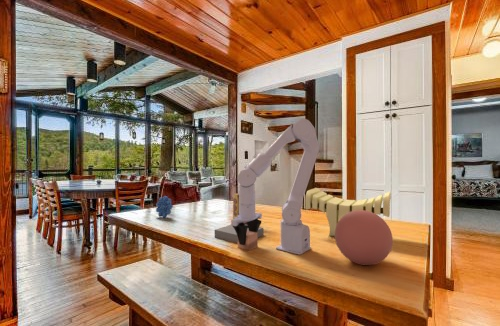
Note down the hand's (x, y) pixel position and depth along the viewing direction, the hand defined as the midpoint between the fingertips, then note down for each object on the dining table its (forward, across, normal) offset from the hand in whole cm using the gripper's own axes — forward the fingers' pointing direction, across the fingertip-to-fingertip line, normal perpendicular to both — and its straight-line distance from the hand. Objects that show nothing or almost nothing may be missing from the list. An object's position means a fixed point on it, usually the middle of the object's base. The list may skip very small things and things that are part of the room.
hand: (247, 242), depth 89 cm
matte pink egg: (+2, -12, +35) cm, 37 cm away
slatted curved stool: (+2, -36, +23) cm, 43 cm away
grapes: (+2, -10, -67) cm, 68 cm away
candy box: (+2, -22, -21) cm, 30 cm away
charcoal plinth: (+2, -8, -11) cm, 14 cm away
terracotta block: (+2, 0, 0) cm, 2 cm away
